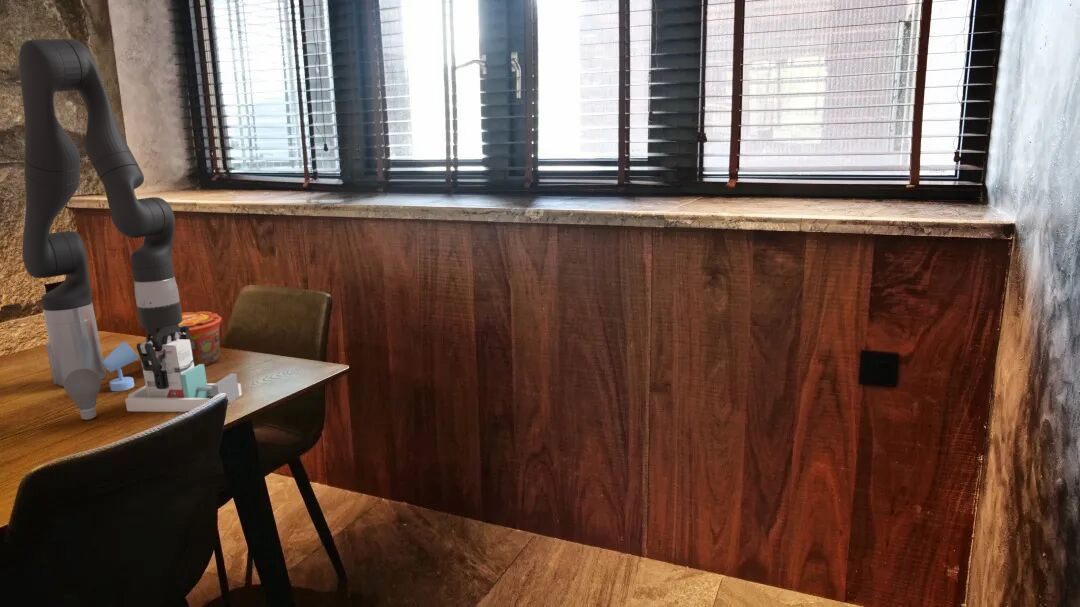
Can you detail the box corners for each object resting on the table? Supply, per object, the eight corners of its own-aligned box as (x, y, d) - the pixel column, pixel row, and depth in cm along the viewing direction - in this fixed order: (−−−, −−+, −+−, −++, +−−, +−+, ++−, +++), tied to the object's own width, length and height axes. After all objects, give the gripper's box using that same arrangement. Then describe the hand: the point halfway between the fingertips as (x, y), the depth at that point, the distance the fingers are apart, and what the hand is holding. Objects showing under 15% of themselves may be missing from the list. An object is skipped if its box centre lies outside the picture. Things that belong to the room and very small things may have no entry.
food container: (200, 374, 165) (193, 328, 162) (137, 372, 168) (129, 327, 165) (240, 352, 180) (234, 310, 178) (182, 351, 183) (175, 310, 180)
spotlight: (137, 380, 162) (103, 389, 157) (130, 337, 160) (95, 344, 155) (146, 385, 159) (111, 394, 154) (138, 341, 157) (103, 348, 152)
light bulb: (81, 413, 143) (71, 365, 141) (113, 411, 144) (104, 363, 142) (64, 425, 138) (54, 375, 135) (97, 423, 138) (88, 373, 136)
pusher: (185, 407, 144) (180, 375, 142) (204, 395, 150) (199, 364, 149) (210, 407, 143) (205, 375, 142) (228, 395, 150) (223, 364, 148)
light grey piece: (127, 411, 144) (122, 387, 143) (155, 394, 153) (151, 371, 152) (218, 411, 142) (214, 387, 141) (241, 394, 151) (238, 371, 150)
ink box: (200, 393, 149) (191, 338, 146) (184, 402, 144) (175, 345, 141) (163, 392, 150) (154, 337, 148) (146, 400, 146) (136, 344, 143)
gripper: (153, 310, 135) (167, 396, 139) (196, 292, 149) (208, 371, 153) (115, 310, 136) (131, 396, 140) (162, 293, 150) (174, 371, 154)
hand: (171, 383), depth 147 cm, fingers closed on ink box, 5 cm apart
